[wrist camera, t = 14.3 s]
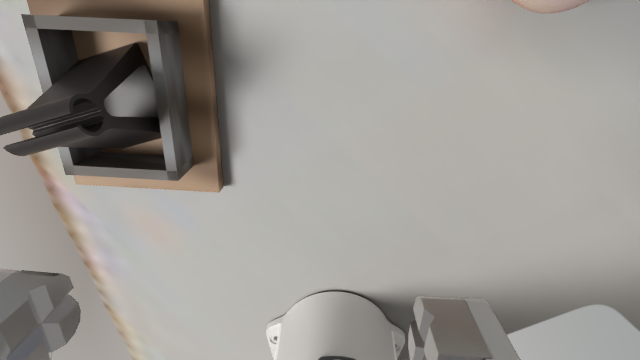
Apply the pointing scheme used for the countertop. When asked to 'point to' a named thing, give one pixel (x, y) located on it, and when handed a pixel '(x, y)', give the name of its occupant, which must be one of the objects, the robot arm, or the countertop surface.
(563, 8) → the decorative fruit
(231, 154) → the countertop surface
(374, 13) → the countertop surface
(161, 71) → the socket board
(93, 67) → the phone stand
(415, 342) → the robot arm
